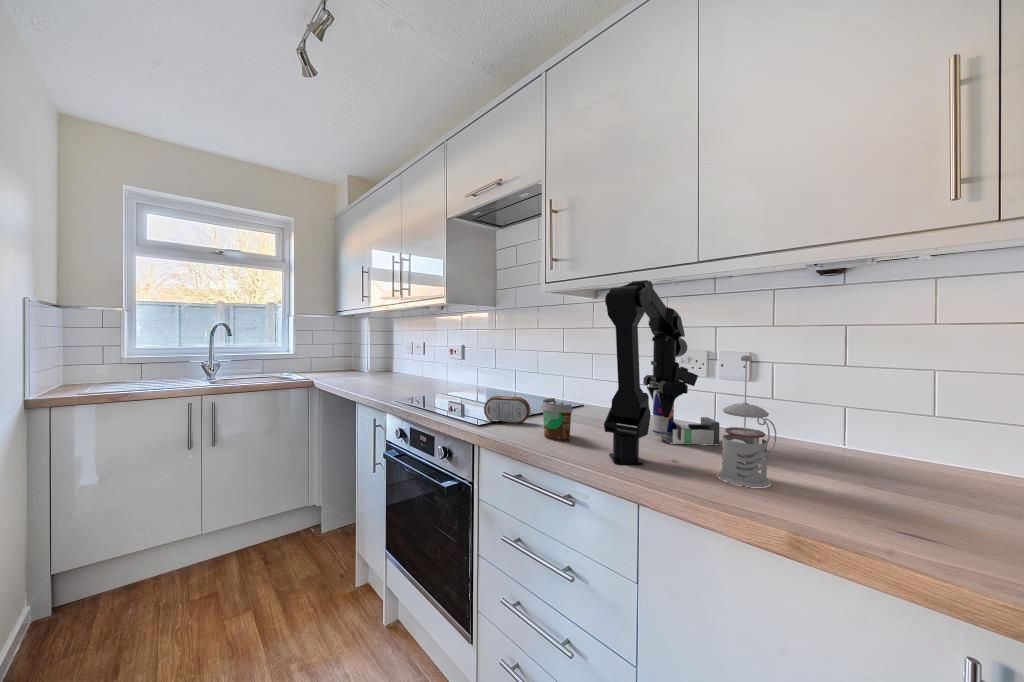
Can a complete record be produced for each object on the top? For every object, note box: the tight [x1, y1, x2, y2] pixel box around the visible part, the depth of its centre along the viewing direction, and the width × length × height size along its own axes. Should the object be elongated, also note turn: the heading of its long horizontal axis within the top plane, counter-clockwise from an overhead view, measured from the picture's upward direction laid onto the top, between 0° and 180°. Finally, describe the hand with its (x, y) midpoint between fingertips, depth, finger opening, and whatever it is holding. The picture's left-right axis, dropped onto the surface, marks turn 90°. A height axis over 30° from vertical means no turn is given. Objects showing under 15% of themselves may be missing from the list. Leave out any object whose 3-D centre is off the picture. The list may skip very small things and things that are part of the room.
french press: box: [716, 355, 777, 487], centre depth 81 cm, size 10×12×25 cm
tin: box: [483, 395, 531, 424], centre depth 131 cm, size 15×3×8 cm, turn 79°
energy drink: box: [651, 389, 675, 437], centre depth 110 cm, size 5×5×12 cm
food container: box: [540, 397, 573, 442], centre depth 113 cm, size 12×6×10 cm, turn 17°
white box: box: [672, 420, 691, 440], centre depth 109 cm, size 8×4×4 cm, turn 177°
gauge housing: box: [659, 416, 720, 445], centre depth 110 cm, size 7×13×6 cm, turn 87°
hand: (663, 415), depth 110 cm, fingers closed on energy drink, 5 cm apart
